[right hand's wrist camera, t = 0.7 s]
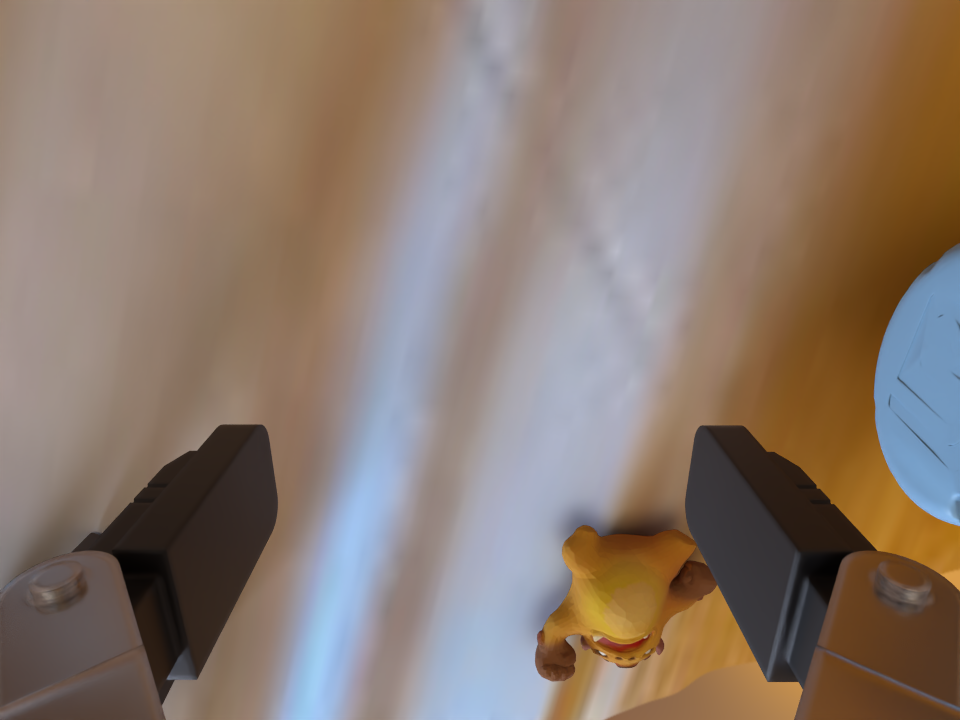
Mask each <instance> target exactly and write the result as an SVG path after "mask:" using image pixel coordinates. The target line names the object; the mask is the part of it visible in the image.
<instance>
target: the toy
mask: <svg viewBox="0 0 960 720" xmlns="http://www.w3.org/2000/svg"><path fill="white" fill-rule="evenodd" d="M696 546H697V544H696V542H695V541H694V540H692V539H691V538H689V537H688V536H686V535H685V534H683V533H681V532H680V531H678V530H675V529H674V530H667V531H663V532H660V533H658V534H656V535H654V536H640V535H629V534H614V535H608V536H603V537H600V536H598V534H597V532H596V531H595V530H594V529H593V528H592V527H590V526H587V525H583V526H581V527H579V528H577V529H576V531H575V532H574V534H573V535H572V536H570V537H569V538H568V539H567V540H566V541H565V542H564V544H563V547H562V556H563V559H564V561H565V564H566V565H567V567H568V568H569V569H570V570H571V571H572V584H571V588H570V590H569V592H568V594H567V596H566V598H565V599H564V601H563V602H562V604H561V605H560V606H559V608H558V609H557V610H556V611H554V612H553V613H552V614H551V615H550V616H549V618H548V619H547V621H546V623H545V625H544V627H543V629H542V631H540V632H539V633H538V634H537V640H538V646H537V649H536V654H535V664H536V668H537V671H538V673H539V674H540V675H541V676H542V677H543V678H546V679H548V680H550V681H565V680H566V679H568V678H570V677H571V676H573V674H574V672H575V667H574V663H575V661H576V654H575V651H574V649H573V648H572V647H571V646H570V645H569V644H568V643H567V641H566V640H565V638H567V637H568V636H570V635H575V634H580V635H582V636H581V645H582V648H583V649H584V650H587V649H589V648H591V649H592V650H593V653H595V654H597V655H599V656H601V657H602V658H604V659H605V660H606V661H610V662H613V663H615V664H616V665H617V666H618V667H620V668H632V667H635V666H636V665H637V664H638V663H639V661H641V660H643V659H644V660H646V659H647V658H649V657H650V656H651V654H652V653H654V652H655V651H656V652H657V654H658V655H660V654H661V653H662V651H663V649H664V643H663V640H662V639H661V635H662V631H663V628H664V626H665V624H666V623H667V622H668V620H669V619H670V618H671V617H672V616H674V615H675V614H677V613H678V612H681V611H683V610H686V609H688V608H689V607H691V606H692V605H693V604H694V603H695V602H696V601H699V600H701V599H703V596H704V595H707V594H709V593H711V592H712V591H713V590H714V589H715V587H716V586H717V583H716V581H715V579H714V577H713V575H712V573H711V571H710V569H709V567H708V566H707V565H705V564H704V563H700V562H696V561H690V560H689V561H687V562H686V563H685V564H684V562H685V561H686V560H687V559H688V558H689V557H690V556H691V554H692V553H693V551H694V550H695V548H696ZM683 564H684V567H683V568H682V569H681V570H680V568H681V566H682V565H683ZM679 570H680V573H679V575H677V574H678V572H679ZM676 575H677V576H676ZM675 576H676V577H675ZM674 577H675V578H674Z"/></svg>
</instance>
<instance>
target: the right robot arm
mask: <svg viewBox="0 0 960 720" xmlns="http://www.w3.org/2000/svg"><path fill="white" fill-rule="evenodd" d="M277 509H278V497H277V490H276V483H275V476H274V469H273V463H272V456H271V449H270V442H269V436H268V432H267V430H266V428H265V427H264V426H263V425H220V426H218V427H217V428H216V429H215V431H214V432H213V433H212V434H211V435H210V436H209V438H208V439H207V440H206V441H205V442H204V443H203V445H202V446H201V447H200V448H199V449H198V450H197V451H189V452H187V453H185V454H184V455H182V456H180V457H179V458H177V459H175V460H174V461H172V462H170V463H169V464H167V465H165V466H164V467H163V468H162V469H161V470H160V471H159V472H158V473H157V474H156V476H155V477H154V478H153V479H152V480H151V481H150V482H149V483H148V487H147V488H144V489H143V490H142V491H141V492H140V493H139V494H138V495H137V496H136V497H135V498H134V503H130V504H129V505H128V506H127V507H126V508H125V509H124V510H123V511H122V512H121V514H120V515H119V516H118V517H117V518H116V519H115V520H114V521H113V522H112V523H111V524H110V526H109V527H108V528H107V529H106V530H105V531H104V532H103V533H102V534H101V535H100V536H99V537H98V539H97V540H96V541H95V542H94V543H93V544H92V545H91V546H90V547H89V548H88V549H87V550H86V551H79V552H73V553H68V554H64V555H61V556H57V557H54V558H52V559H49V560H46V561H44V562H42V563H39V564H37V565H35V566H33V567H31V568H30V569H28V570H26V571H24V572H23V573H21V574H20V575H18V576H17V577H15V578H14V579H13V580H12V581H11V582H9V583H8V584H7V585H6V586H5V587H4V588H3V589H2V590H1V591H0V720H166V719H165V716H164V712H163V709H162V705H161V702H160V698H159V695H158V694H159V692H160V690H161V688H162V686H163V685H164V683H165V681H166V680H197V679H198V677H199V675H200V673H201V671H202V669H203V667H204V665H205V663H206V661H207V659H208V657H209V655H210V653H211V651H212V649H213V647H214V645H215V643H216V641H217V639H218V637H219V635H220V633H221V631H222V630H223V628H224V626H225V624H226V622H227V620H228V618H229V616H230V614H231V612H232V610H233V608H234V606H235V604H236V602H237V600H238V598H239V596H240V594H241V592H242V590H243V588H244V586H245V584H246V582H247V580H248V578H249V576H250V574H251V573H252V571H253V569H254V567H255V565H256V563H257V561H258V559H259V557H260V555H261V553H262V551H263V549H264V547H265V545H266V543H267V541H268V539H269V537H270V535H271V533H272V531H273V529H274V526H275V522H276V518H277ZM685 509H686V518H687V523H688V527H689V530H690V532H691V534H692V536H693V538H694V540H695V542H696V544H697V546H698V548H699V550H700V552H701V553H702V555H703V557H704V559H705V561H706V563H707V565H708V567H709V569H710V571H711V573H712V575H713V577H714V579H715V581H716V583H717V585H718V586H719V588H720V590H721V592H722V594H723V596H724V598H725V600H726V602H727V604H728V606H729V608H730V610H731V612H732V614H733V616H734V618H735V619H736V621H737V623H738V625H739V627H740V629H741V631H742V633H743V635H744V637H745V639H746V641H747V643H748V645H749V647H750V649H751V651H752V653H753V654H754V656H755V658H756V660H757V662H758V664H759V666H760V668H761V670H762V672H763V674H764V676H765V678H766V680H767V681H768V682H799V683H800V685H801V687H802V689H803V692H802V695H801V699H800V702H799V705H798V709H797V712H796V716H795V719H794V720H960V591H959V590H958V589H957V588H956V587H955V586H954V585H953V584H952V583H951V582H949V581H948V580H947V579H946V578H945V577H943V576H942V575H940V574H939V573H937V572H936V571H934V570H932V569H930V568H929V567H927V566H925V565H923V564H921V563H918V562H916V561H914V560H911V559H908V558H906V557H903V556H899V555H896V554H892V553H887V552H881V551H877V550H876V549H875V548H874V547H873V546H872V544H871V543H870V542H869V541H868V540H867V539H866V538H865V537H864V536H863V535H862V534H861V533H860V532H859V530H858V529H857V528H856V527H855V526H854V525H853V524H852V523H851V522H850V521H849V520H848V519H847V518H846V517H845V515H844V514H843V513H842V512H841V511H840V510H839V509H838V508H837V507H836V506H835V505H834V504H831V503H830V499H829V498H828V497H827V496H826V495H825V494H824V493H823V492H822V491H821V490H820V489H817V488H816V484H815V483H814V482H813V481H812V480H811V479H810V478H809V477H808V476H807V475H806V473H805V472H804V471H803V470H802V469H801V468H800V467H798V466H797V465H795V464H793V463H792V462H790V461H788V460H787V459H785V458H783V457H782V456H780V455H778V454H777V453H775V452H766V450H765V449H764V448H763V447H762V446H761V445H760V443H759V442H758V441H757V440H756V439H755V438H754V437H753V435H752V434H751V433H750V432H749V431H748V430H747V429H746V428H745V427H744V426H700V427H699V428H698V429H697V431H696V434H695V438H694V445H693V451H692V458H691V465H690V471H689V478H688V485H687V491H686V499H685Z"/></svg>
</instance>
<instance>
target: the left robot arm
mask: <svg viewBox="0 0 960 720" xmlns="http://www.w3.org/2000/svg"><path fill="white" fill-rule="evenodd" d="M874 399H875V406H876V410H875V421H876V428H877V432H878V437H879V442H880V445H881V448H882V451H883V454H884V457H885V459H886V462H887V464H888V466H889V468H890V471H891V472H892V474H893V476H894V477H895V479H896V480H897V482H898V484H899V485H900V487H901V488H902V489H903V491H904V492H905V493H906V494H907V495H908V496H909V498H910V499H911V500H912V501H914V502H915V503H916V504H917V505H918V506H919V507H920V508H922V509H923V510H925V511H926V512H928V513H929V514H931V515H933V516H934V517H936V518H938V519H940V520H943V521H945V522H948V523H951V524H954V525H958V526H960V243H959V244H957V245H955V246H954V247H952V248H951V249H949V250H948V251H946V252H945V253H944V254H943V256H942V257H941V258H940V259H939V261H937V262H934V263H932V264H931V265H929V266H928V267H927V268H926V269H924V270H923V271H922V273H921V274H920V275H919V276H918V277H917V278H916V279H915V280H914V282H913V283H912V284H911V286H910V287H909V289H908V290H907V291H906V293H905V294H904V296H903V297H902V299H901V300H900V302H899V304H898V306H897V307H896V309H895V312H894V314H893V316H892V318H891V320H890V322H889V325H888V327H887V330H886V332H885V335H884V338H883V341H882V345H881V348H880V352H879V356H878V361H877V367H876V374H875V386H874Z"/></svg>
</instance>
